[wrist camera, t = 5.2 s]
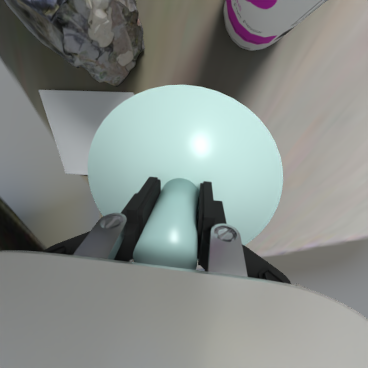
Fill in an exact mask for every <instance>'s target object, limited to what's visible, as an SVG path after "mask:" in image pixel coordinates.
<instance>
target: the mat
mask: <svg viewBox="0 0 368 368" xmlns="http://www.w3.org/2000/svg"><path fill="white" fill-rule="evenodd" d="M39 93H40V96H41V99H42V102H43V106H44V109H45V112H46V115H47V118H48V121H49V124H50V127H51V130H52V133H53V136H54V139H55V142H56V145H57V148H58V151H59V154H60V157H61V160H62V163H63V166H64V170H65V173H66V174H80V175H88V166H87V165H88V156H89V151H90V147H91V143H92V141H93V138H94V136H95V134H96V131H97V130H98V128H99V127H100V125H101V124H102V122H103V120H104V119H105V118H106V117H107V116H108V115H109V114H110V113H111V112H112V110H113V109H115V108H116V107H117V106H119V105H120V104H121V103H122V102H124V101H125V100H127V99H129V98H131V97H132V96H134V92H100V91H64V90H39Z"/></svg>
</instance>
